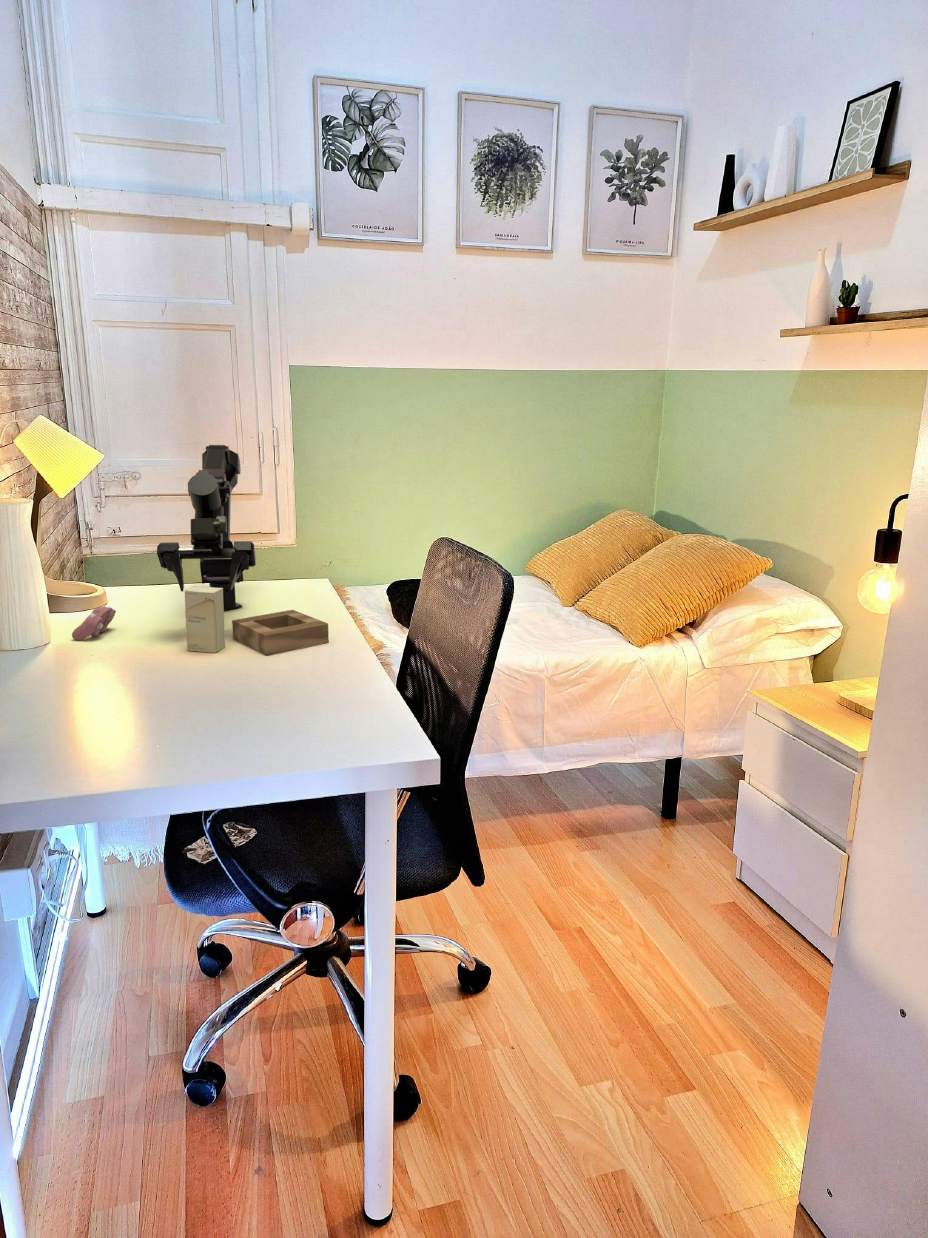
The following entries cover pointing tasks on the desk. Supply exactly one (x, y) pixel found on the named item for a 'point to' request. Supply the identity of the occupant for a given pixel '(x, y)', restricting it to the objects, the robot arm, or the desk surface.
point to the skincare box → (204, 619)
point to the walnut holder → (280, 632)
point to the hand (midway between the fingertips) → (206, 589)
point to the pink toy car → (94, 623)
